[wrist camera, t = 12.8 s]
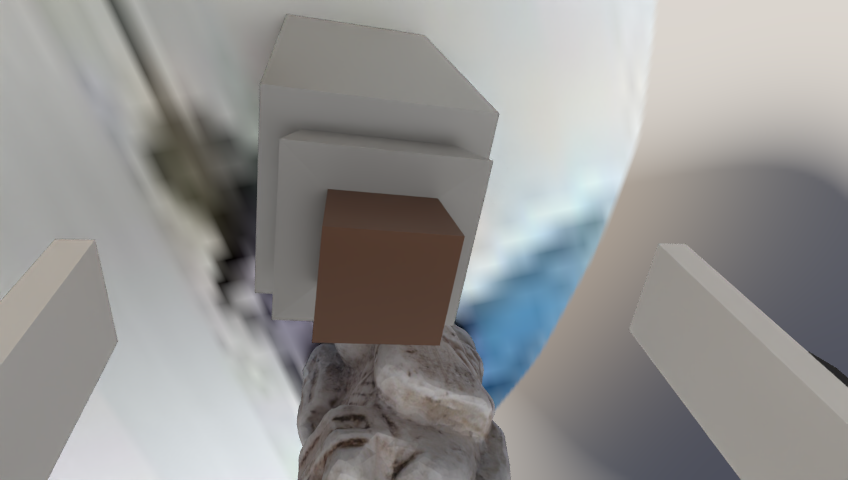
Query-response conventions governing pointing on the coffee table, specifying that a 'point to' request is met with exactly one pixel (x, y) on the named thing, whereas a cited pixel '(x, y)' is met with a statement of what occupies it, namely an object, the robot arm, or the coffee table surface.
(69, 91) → the coffee table surface
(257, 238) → the perfume bottle
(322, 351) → the figurine
